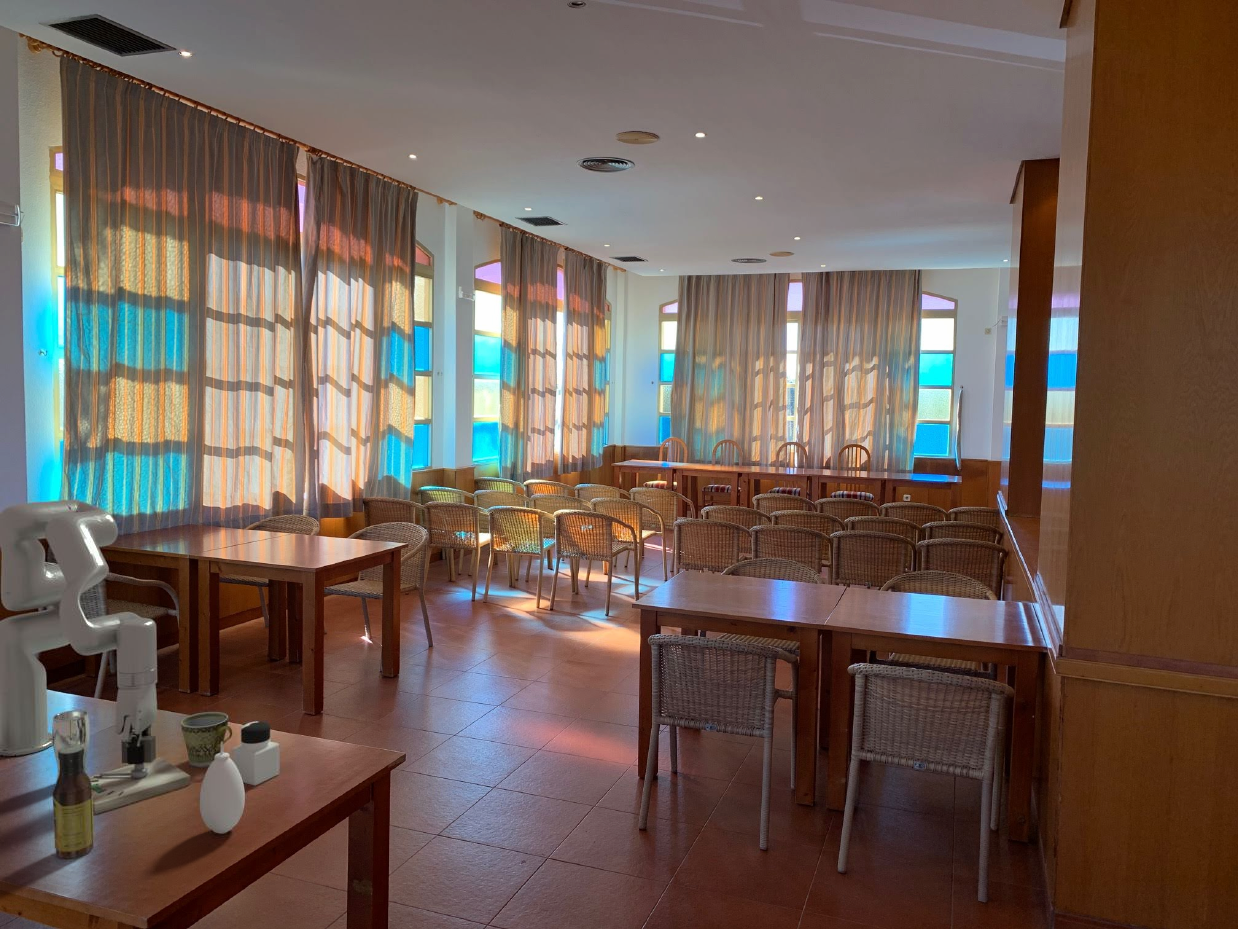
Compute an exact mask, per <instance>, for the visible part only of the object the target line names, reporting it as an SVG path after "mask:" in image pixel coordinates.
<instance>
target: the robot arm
mask: <svg viewBox="0 0 1238 929" xmlns="http://www.w3.org/2000/svg"><path fill="white" fill-rule="evenodd" d="M118 533H119V530H118V525H117V522H116V519H114V517H113V516H112V515H111V513H109V512H108V511H107V510H105V509H103V508H100V507H98V506H96V505H93V504H90V503H88V502H85V501H83V500H79V499H64V500H63V499H61V500H51V501H50V500H49V501H37V502H36V501H35V502H24V503H19V504H15V505H14V504H13V505H10V506H8V507H6V508H5V507H4V509H3V510H1V511H0V551H1V563H0V564H1V573H0V597H1V604H2V605H3V607H4V608H5V609H6V610H7V611H12V612H22V611H28V610H30V611H31V610H34V609H40V608H46V607H48V609H46V610H40V611H35V612H34V611H33V612H28V613H27V612H26V613H22V614H18V615H14V616H13V615H12V616H9V617H6V618H4V619H1V620H0V756H1V755H3V757H12V756H13V757H14V756H15V755H16V756H24V755H29V754H33V753H38V752H41V751H42V750H46V749H48V748H50V747H51V746H52V747H53V742H52V732H51V733H50V732H48V727H49V725H48V698H47V697H48V692H47V687H48V686H47V671H46V668H45V666H44V665H43V663H42V662H40V660H39V659H37V657H36V654H37V653H42V652H46V651H50V650H53V649H58V648H61V647H65V646H68V645H69V644H70V646H71V648H72V649H73V650H74V651H75V652H76V653H78V654H79V655H82V656H91V655H96V654H101V653H104V652H108V651H112V650H113V651H114V650H116V669H117V670H116V671H117V672H116V673H117V687H118V690H117V697H116V705H115V708H116V709H115V734H116V735H121V734H122V739H121V740H122V742H126V747H127V763H126V764H128V765H134V764H143V763H144V745H142V736H152V733H151V732H152V731H151V729H152V725H153V724H154V723H155V721H156V719H157V716H158V702H157V700H158V699H157V688H156V684H157V683H158V658H157V656H158V655H157V654H158V652H157V648H158V646H157V644H158V643H157V624H156V622H155V621H154V620H153V619H152V618H147V617H142V616H139V615H138V614H136V613H134V612H131V611H124V612H118V613H113V614H108V615H107V614H106V615H102V616H98V617H94V618H93V617H92V618H89V619H87V616H85V613H84V611H83V609H82V607H81V606H82V605H81V595H82V594H83V593H85V592H86V591H88V590H89V589H91V588H93V587H95V586H96V585H98V584H99V583H101V582H102V581H103V580H104V579H105V578H106V577H107V576H108V574H109V572H110V568H109V565H108V563H107V561H106V559H105V557H104V555H103V553H102V551H101V549H100V548H101V547H106V546H107V547H108V546H111V545H112V544H113V543H114V542H116V540H117V538H118V535H119V534H118ZM43 539H46V541H47V543H48V545H49V548H50V550H51V552H52V553H53V556H54V558H55V560H56V563H57V564H53V565H46V563H45V562H46V551H45V548H44V546H43V545H42V543H41V541H40V540H43ZM133 736H137V738H136V737H133ZM122 742H121V743H122ZM16 756H15V757H16Z"/></svg>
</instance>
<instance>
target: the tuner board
mask: <svg viewBox="0 0 1238 929" xmlns="http://www.w3.org/2000/svg"><path fill="white" fill-rule="evenodd" d="M144 767H147V768H148V774H147V776H145V777H142V778H131V776H100V773H98V774H95V775H92V776H89V778H90V780H91V785H92V786H91V787H92V795H93V814H94V815H97V814H102V813H104V812H107V811H111V810H114V809H116V808H120V807H123V806H126V804H127V805H129V804H133V803H136V801H137V802H139V801H142V800H146V799H149V798H152V797H156V796H158V795H162V794H165V793H170V792H171V791H175V790H178V789H181V788H185V787H188V786H190V785H191V775H190V774H188V773H186V772H185V771H184V770H181V769H180V768H178V767H176V766H175V765H173V764H172V763H170V762H168V761H167V760H166V759H164V758H162V757H161V756H159V757H156V759H155V760H154V761H153V762H151V763H144ZM132 769H134V764H129V765H126V766H124V767H120V768H116V769H114V770H109V771H106V772H104V773H119V772H131V770H132ZM132 802H133V803H132Z"/></svg>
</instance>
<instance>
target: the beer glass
mask: <svg viewBox="0 0 1238 929" xmlns="http://www.w3.org/2000/svg"><path fill="white" fill-rule="evenodd" d="M90 728H91V727H90V718H89V712H88V711H87V710H83V709H82V710H81V709H75V710H74V709H73V710H68V711H63V712H60V713H57V714H54V716H53V717H52V731H51V734H52V742H53V745H52V747H53V753H54V757H55V761H56V765H57V776H56V782H55V784H56V783H57V780H58V777H59V774H60V773H59V771H60V761H59V758H58V751H59V750H60V749H61V748H63V747H66V746H69V745H82V746H83V747H84V755H83V766H84V770H83V771H84V772H85V773H86V774H87V775H88V776H89V774H88V771H87V770H88V769H87V757H88V751H89V747H90V740H91V736H90V734H91V732H90V731H91V729H90Z"/></svg>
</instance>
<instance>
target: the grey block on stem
mask: <svg viewBox="0 0 1238 929" xmlns="http://www.w3.org/2000/svg"><path fill="white" fill-rule="evenodd" d="M132 736H133V737H136V738H137V736H135V735H132ZM120 741H121V764H128V763H127V747H126V742H122V739H121V740H120ZM142 745H144V763H151V762H153V761H154V760H155V759H156V758H157V751H156V750H157V749H156V747H157V743H156V735H151V736H142ZM144 763H143V764H133V765H134V769H132V770H131V772H119V773H105V772H100V773H99V774H100V776H131V778H142V777H145V776H147V774H148V768H147V767H144Z"/></svg>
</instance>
